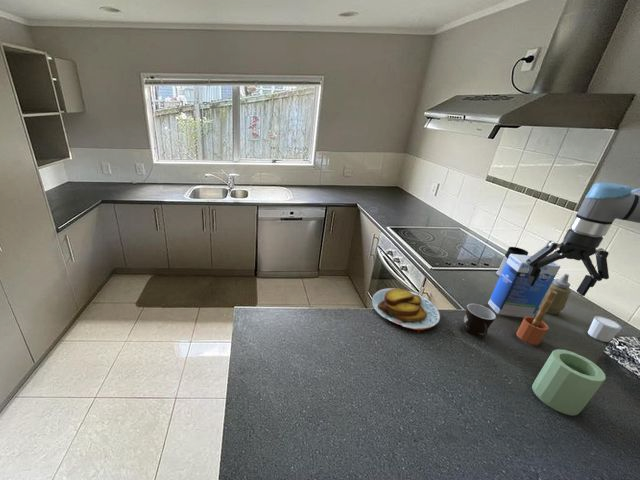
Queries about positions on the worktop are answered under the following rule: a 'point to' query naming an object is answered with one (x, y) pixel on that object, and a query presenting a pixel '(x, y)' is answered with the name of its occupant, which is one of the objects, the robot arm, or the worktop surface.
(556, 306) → the squeeze bottle
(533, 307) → the string lights box
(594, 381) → the sage green cup
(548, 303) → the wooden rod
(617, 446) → the worktop surface
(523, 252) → the holder
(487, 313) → the coffee mug
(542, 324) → the brush cup
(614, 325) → the white cylinder
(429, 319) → the food on plate
